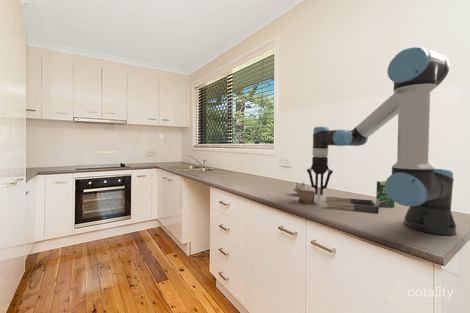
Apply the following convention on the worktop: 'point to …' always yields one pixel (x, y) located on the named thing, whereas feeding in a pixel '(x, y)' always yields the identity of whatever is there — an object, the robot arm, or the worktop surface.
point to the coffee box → (383, 196)
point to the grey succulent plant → (300, 187)
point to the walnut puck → (306, 197)
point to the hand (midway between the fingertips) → (318, 200)
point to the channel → (352, 204)
